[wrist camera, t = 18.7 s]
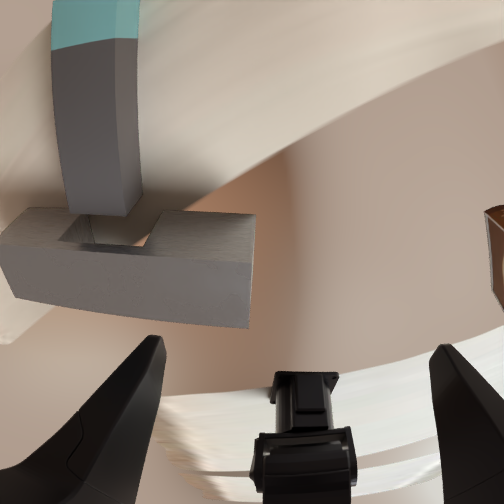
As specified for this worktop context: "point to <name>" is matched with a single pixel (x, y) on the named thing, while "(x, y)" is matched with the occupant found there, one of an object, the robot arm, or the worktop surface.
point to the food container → (496, 250)
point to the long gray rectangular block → (136, 266)
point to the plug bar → (97, 103)
